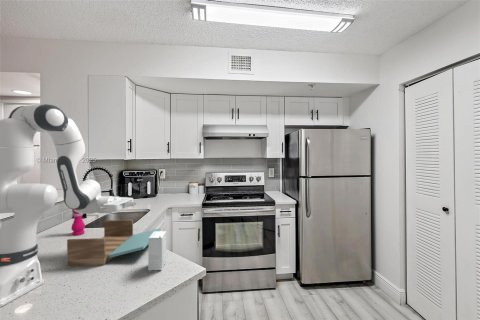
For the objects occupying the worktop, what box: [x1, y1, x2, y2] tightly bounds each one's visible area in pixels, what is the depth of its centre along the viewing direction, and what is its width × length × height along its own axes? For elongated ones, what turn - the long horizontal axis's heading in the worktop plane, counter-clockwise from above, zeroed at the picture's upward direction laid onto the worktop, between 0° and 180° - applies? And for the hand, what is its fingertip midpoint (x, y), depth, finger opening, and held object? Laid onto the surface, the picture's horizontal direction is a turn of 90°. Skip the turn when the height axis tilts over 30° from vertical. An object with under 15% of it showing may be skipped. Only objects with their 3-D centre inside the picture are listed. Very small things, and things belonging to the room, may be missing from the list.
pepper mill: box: [71, 209, 86, 237], centre depth 145 cm, size 7×7×20 cm
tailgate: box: [109, 228, 162, 258], centre depth 118 cm, size 28×2×16 cm
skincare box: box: [147, 230, 167, 270], centre depth 100 cm, size 8×6×15 cm
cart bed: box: [66, 219, 134, 267], centre depth 117 cm, size 32×16×12 cm, turn 4°
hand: (135, 204), depth 118 cm, fingers closed
